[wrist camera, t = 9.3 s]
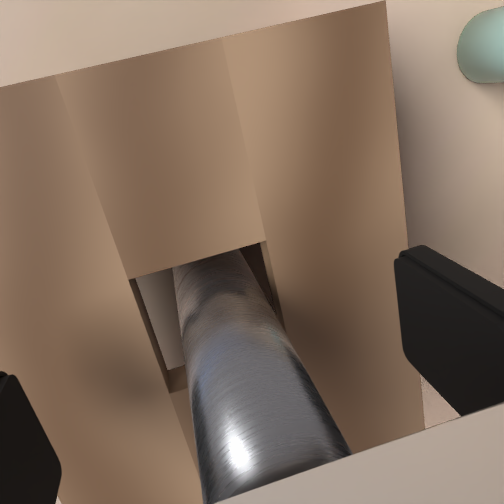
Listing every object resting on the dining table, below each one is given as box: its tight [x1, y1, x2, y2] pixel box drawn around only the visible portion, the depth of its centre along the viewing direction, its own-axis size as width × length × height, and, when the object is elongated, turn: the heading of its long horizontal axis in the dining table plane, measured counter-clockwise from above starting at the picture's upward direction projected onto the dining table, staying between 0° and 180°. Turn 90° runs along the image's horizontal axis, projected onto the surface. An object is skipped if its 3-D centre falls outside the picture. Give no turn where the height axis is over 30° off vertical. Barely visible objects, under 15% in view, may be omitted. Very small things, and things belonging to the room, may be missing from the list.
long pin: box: [172, 248, 353, 504], centre depth 12 cm, size 3×3×12 cm
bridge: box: [0, 0, 425, 504], centre depth 15 cm, size 12×14×6 cm
